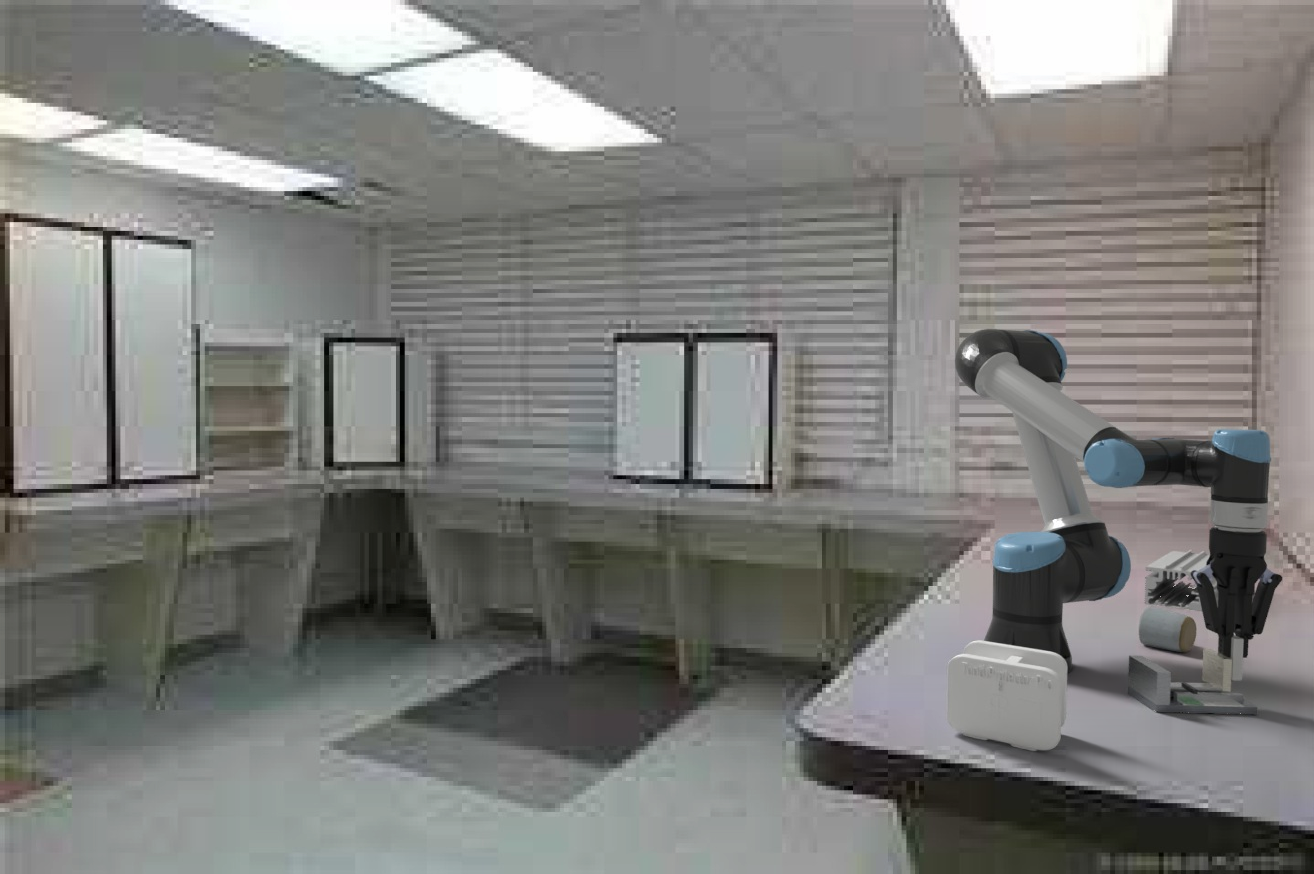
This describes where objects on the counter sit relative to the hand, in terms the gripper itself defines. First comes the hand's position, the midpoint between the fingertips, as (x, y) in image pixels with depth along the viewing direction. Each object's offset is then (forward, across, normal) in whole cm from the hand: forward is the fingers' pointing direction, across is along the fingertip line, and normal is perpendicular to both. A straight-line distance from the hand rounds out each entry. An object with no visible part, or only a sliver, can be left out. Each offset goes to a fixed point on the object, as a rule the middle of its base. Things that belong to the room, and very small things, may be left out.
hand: (1231, 677), depth 140 cm
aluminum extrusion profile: (+5, +37, +80) cm, 88 cm away
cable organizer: (+5, -40, -16) cm, 43 cm away
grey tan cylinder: (+5, +8, +33) cm, 35 cm away
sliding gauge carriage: (+3, -6, -1) cm, 7 cm away
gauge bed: (+4, -6, 0) cm, 8 cm away
